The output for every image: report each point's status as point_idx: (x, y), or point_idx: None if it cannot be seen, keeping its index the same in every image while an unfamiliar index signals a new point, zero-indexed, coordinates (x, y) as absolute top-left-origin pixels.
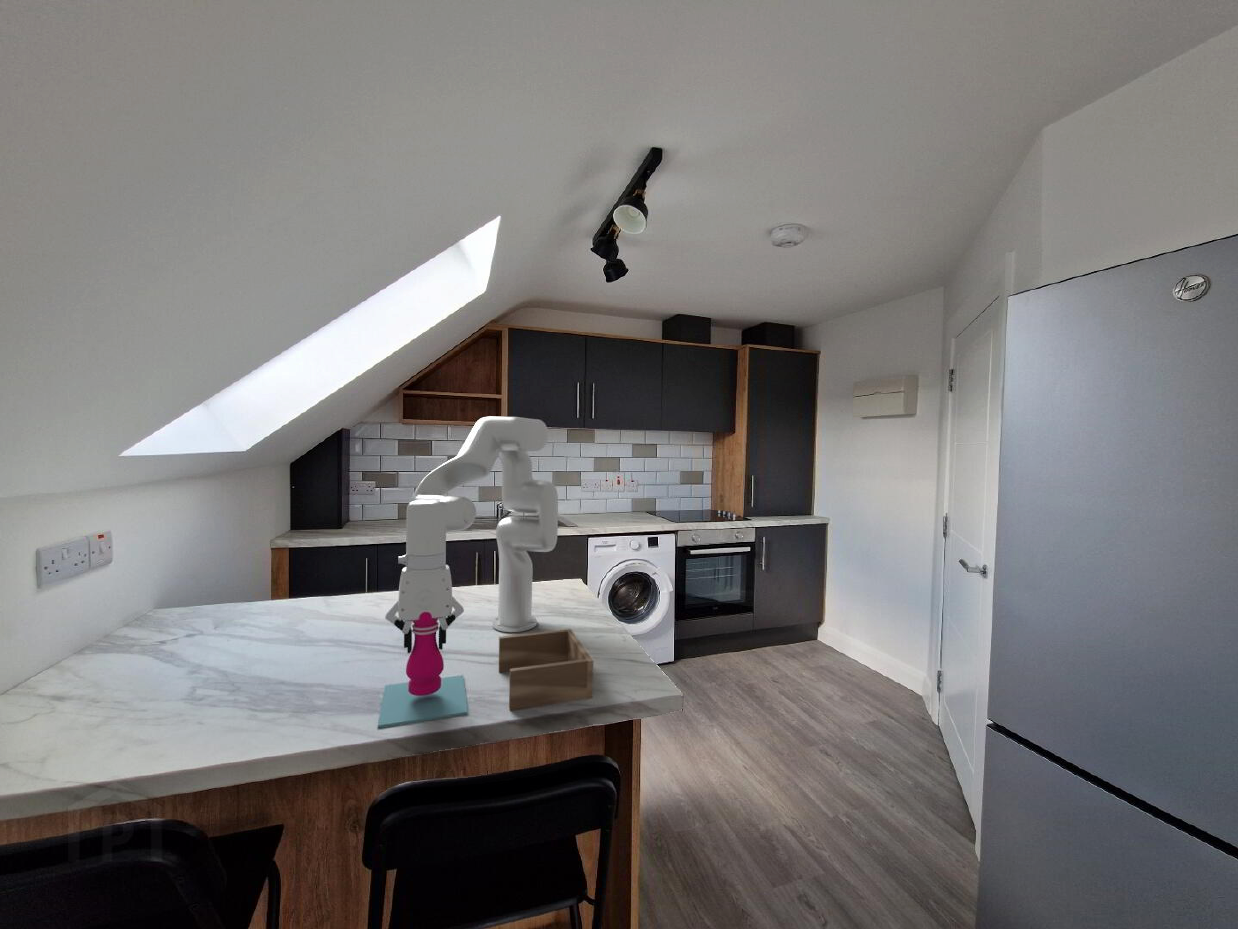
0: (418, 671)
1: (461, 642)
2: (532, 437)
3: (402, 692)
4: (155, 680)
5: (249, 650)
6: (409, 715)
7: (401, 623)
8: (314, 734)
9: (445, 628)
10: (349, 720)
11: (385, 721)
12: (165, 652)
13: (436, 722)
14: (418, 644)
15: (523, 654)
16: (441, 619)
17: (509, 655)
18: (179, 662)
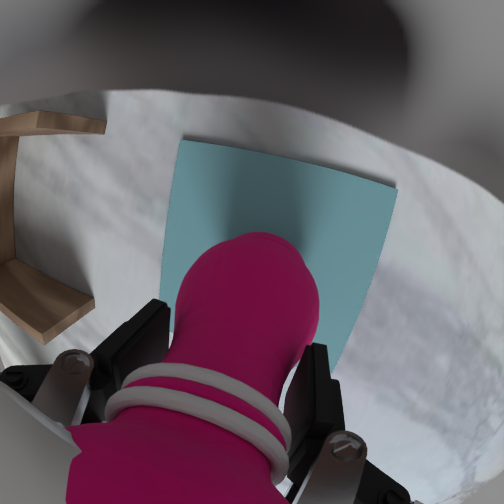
0: (286, 258)
1: None
2: None
3: None
4: (499, 446)
5: (421, 489)
6: (320, 194)
7: (368, 500)
8: (485, 243)
9: (78, 360)
10: (433, 263)
11: (379, 198)
12: (464, 484)
13: (261, 137)
14: (267, 356)
15: (38, 293)
16: (55, 410)
17: (56, 305)
18: (470, 472)
